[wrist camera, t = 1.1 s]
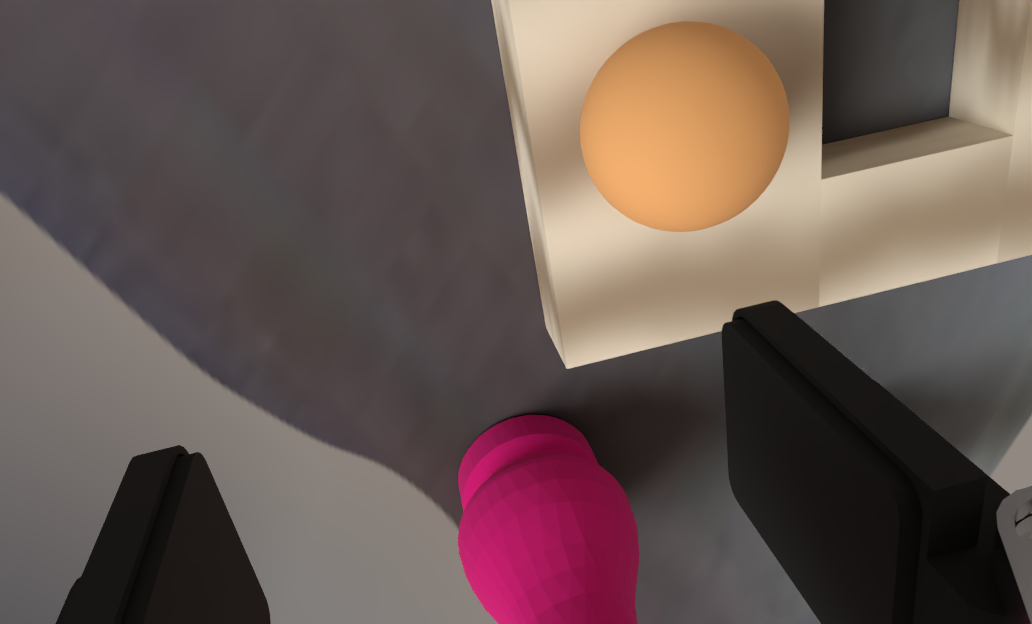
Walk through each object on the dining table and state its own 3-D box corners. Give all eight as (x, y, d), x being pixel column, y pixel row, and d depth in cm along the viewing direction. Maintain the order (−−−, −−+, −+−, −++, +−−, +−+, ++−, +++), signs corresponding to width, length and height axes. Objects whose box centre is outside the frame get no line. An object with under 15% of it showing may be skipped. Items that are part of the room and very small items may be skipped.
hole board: (462, -174, 24) (478, -190, 21) (1043, -275, 26) (1136, -304, 23) (546, 327, 32) (566, 368, 29) (983, 222, 34) (1046, 250, 31)
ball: (546, 33, 24) (602, 60, 19) (729, -5, 24) (835, 11, 19) (571, 214, 27) (626, 283, 21) (736, 177, 27) (829, 235, 22)
